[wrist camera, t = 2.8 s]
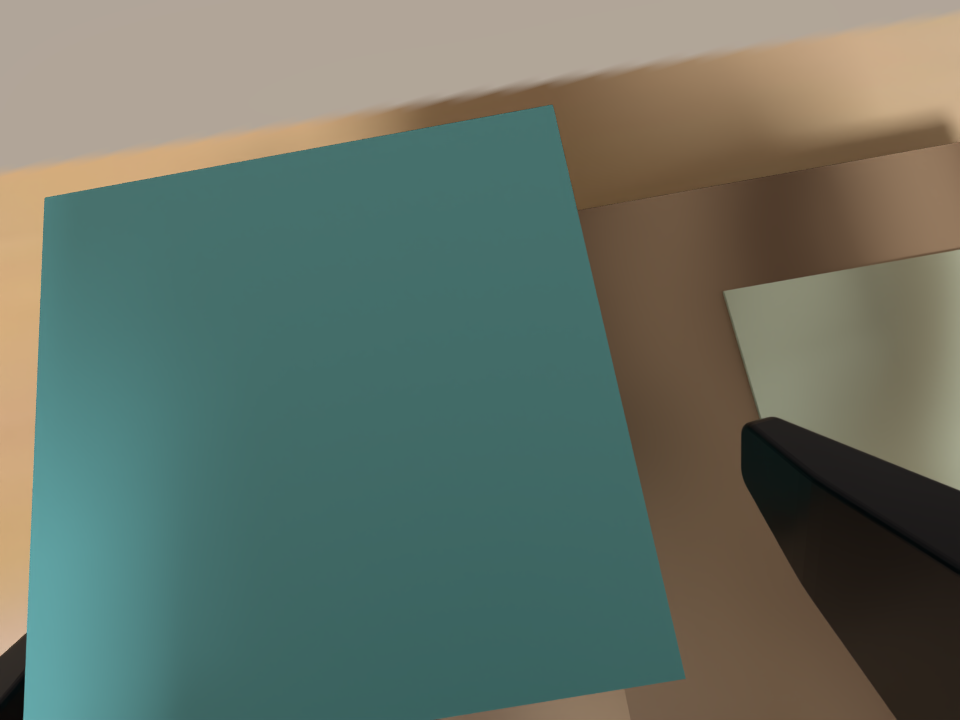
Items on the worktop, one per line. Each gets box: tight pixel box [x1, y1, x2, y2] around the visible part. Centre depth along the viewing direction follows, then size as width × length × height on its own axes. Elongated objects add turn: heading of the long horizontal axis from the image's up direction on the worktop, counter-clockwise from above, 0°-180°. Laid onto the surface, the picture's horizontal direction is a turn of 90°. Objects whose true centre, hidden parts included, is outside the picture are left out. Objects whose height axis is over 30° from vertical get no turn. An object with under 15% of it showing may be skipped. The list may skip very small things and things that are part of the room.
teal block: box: [23, 105, 686, 720], centre depth 10 cm, size 4×4×12 cm
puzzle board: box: [435, 142, 960, 720], centre depth 15 cm, size 22×13×3 cm, turn 99°
